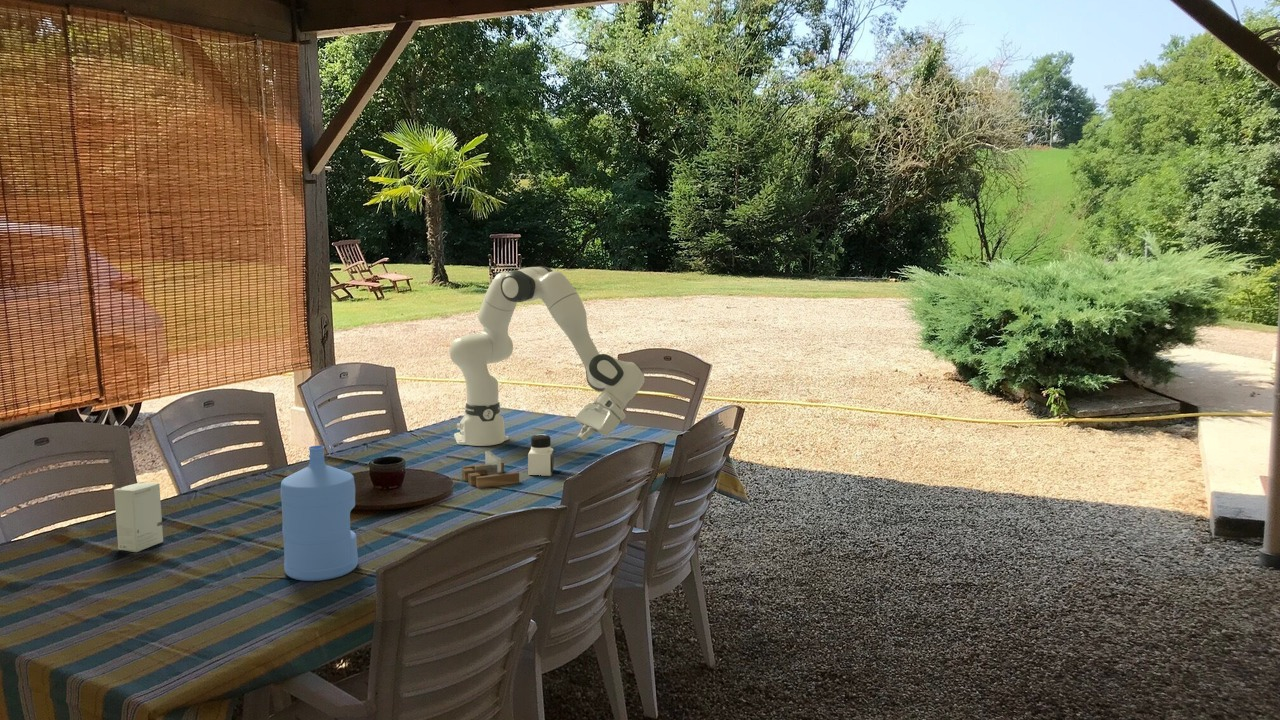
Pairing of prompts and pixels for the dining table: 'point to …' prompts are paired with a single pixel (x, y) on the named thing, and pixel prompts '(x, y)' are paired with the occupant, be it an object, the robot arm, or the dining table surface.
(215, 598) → the dining table surface
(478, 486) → the lane
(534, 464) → the medicine bottle
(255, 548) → the dining table surface
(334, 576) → the water jug
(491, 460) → the block
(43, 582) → the dining table surface
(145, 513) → the skincare box
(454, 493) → the dining table surface
